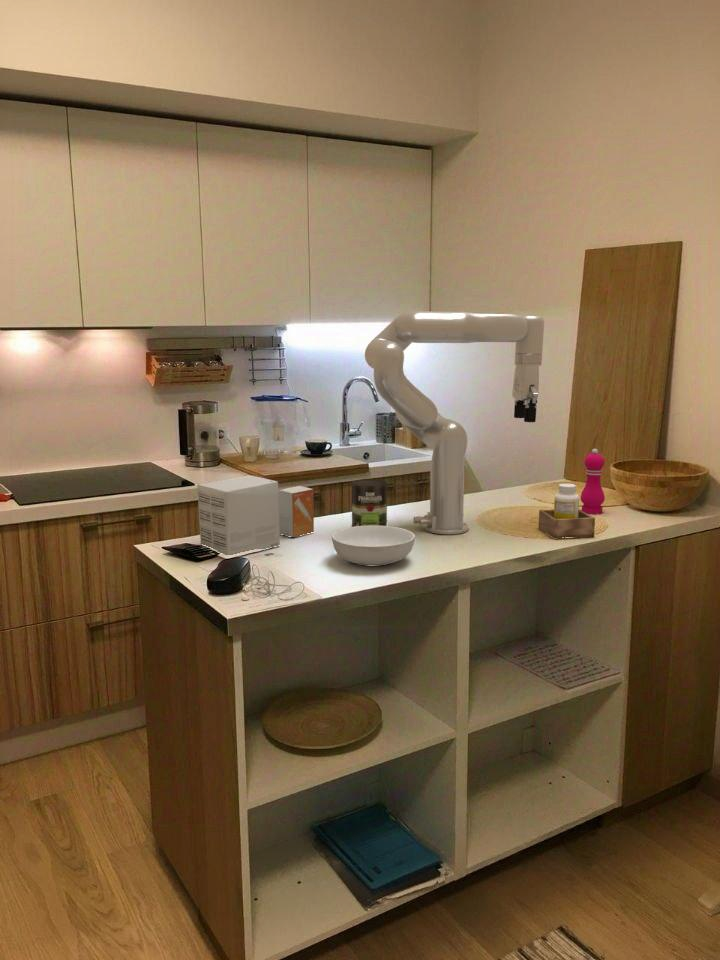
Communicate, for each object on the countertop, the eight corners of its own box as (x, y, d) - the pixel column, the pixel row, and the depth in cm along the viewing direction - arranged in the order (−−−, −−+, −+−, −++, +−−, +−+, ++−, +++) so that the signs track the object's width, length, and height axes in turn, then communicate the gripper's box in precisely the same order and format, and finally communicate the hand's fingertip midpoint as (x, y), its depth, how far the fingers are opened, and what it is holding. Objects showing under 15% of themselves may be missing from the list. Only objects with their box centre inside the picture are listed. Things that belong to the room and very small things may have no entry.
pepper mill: (606, 514, 248) (610, 450, 244) (583, 514, 248) (586, 450, 244) (600, 509, 255) (603, 446, 251) (577, 509, 255) (580, 446, 251)
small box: (293, 538, 224) (292, 493, 221) (278, 534, 228) (277, 489, 225) (314, 533, 229) (313, 488, 227) (300, 529, 234) (299, 485, 231)
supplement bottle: (562, 525, 232) (564, 481, 229) (582, 529, 227) (584, 485, 224) (548, 529, 227) (550, 484, 225) (568, 534, 222) (570, 488, 220)
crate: (554, 539, 221) (555, 520, 220) (538, 528, 232) (539, 510, 231) (594, 537, 223) (595, 518, 222) (576, 526, 234) (577, 508, 233)
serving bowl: (431, 560, 203) (432, 534, 202) (373, 580, 189) (373, 551, 187) (373, 544, 218) (373, 520, 216) (314, 561, 203) (314, 534, 202)
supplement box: (251, 537, 225) (249, 474, 221) (281, 547, 216) (279, 481, 212) (198, 550, 213) (195, 483, 210) (228, 561, 204) (225, 491, 200)
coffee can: (388, 534, 227) (388, 485, 224) (352, 535, 227) (351, 486, 224) (386, 525, 237) (386, 478, 234) (351, 526, 237) (350, 479, 234)
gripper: (506, 358, 237) (503, 416, 240) (524, 361, 220) (520, 423, 223) (531, 358, 237) (527, 416, 241) (551, 361, 221) (547, 423, 224)
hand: (524, 419), depth 232 cm, fingers open, 9 cm apart
